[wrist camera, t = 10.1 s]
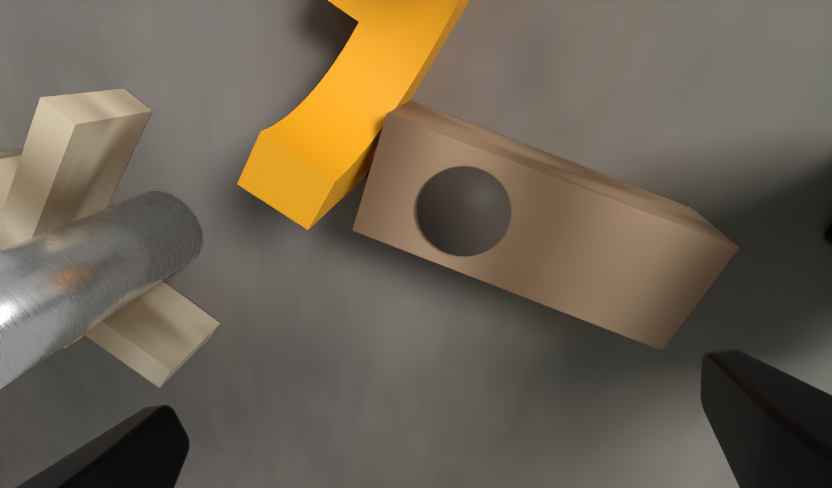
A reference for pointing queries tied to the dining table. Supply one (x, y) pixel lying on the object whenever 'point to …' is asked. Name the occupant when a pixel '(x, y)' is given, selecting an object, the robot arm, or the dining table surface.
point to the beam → (539, 225)
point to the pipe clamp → (348, 107)
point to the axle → (87, 274)
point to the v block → (87, 194)
